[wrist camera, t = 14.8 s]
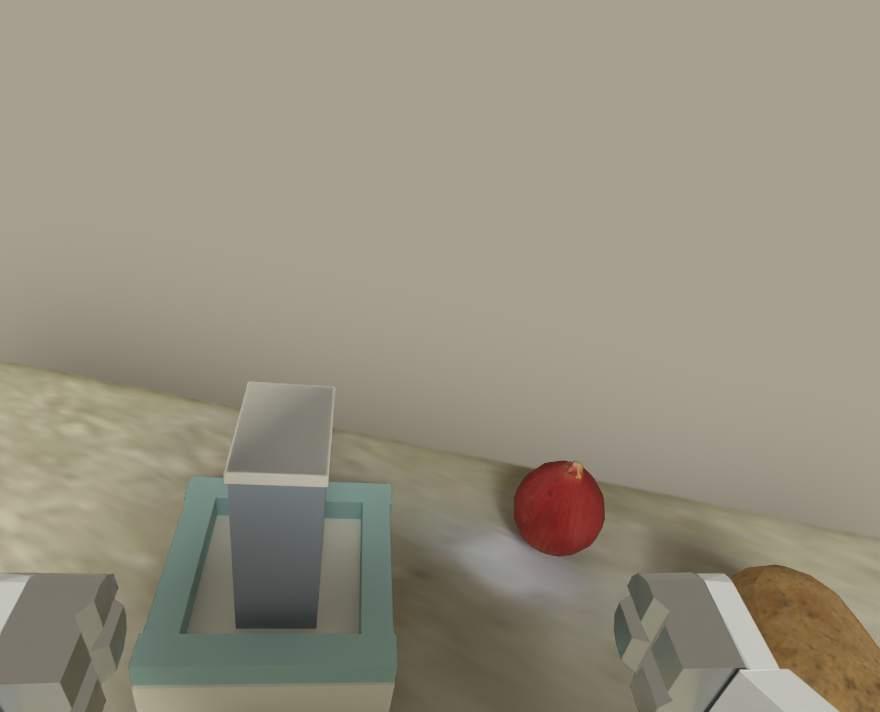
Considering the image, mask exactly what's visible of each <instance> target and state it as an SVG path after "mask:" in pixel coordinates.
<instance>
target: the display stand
mask: <svg viewBox="0 0 880 712" xmlns="http://www.w3.org/2000/svg"><path fill="white" fill-rule="evenodd" d="M184 500H185V504H184V507H183V510H182V513H181V517H180V520H179V523H178V526H177V529H176V532H175V535H174V538H173V541H172V545H171V548H170V551H169V554H168V557H167V560H166V563H165V566H164V569H163V573H162V576H161V579H160V582H159V585H158V588H157V591H156V594H155V597H154V601H153V604H152V607H151V610H150V613H149V616H148V619H147V622H146V625H145V629H144V632H143V634H139V637H138V640H137V643H136V646H135V649H134V652H133V655H132V658H131V661H130V664H129V667H128V668H129V672H130V676H131V681H132V685H133V686H132V693H133V697H134V701H135V705H136V709H137V712H389V710H390V705H391V700H392V695H393V690H394V682H395V677H396V672H397V667H398V657H397V634H394V631H393V601H392V570H391V540H390V512H391V505H392V497H391V484H377V483H350V482H328V487H327V490H326V505H325V520H324V535H323V548H322V561H321V574H320V588H319V601H318V614H317V627H316V629H236V624H235V607H234V590H233V572H232V555H231V537H230V520H229V502H228V485H227V484H224V478H217V477H190V480H189V483H188V486H187V489H186V492H185V496H184Z"/></svg>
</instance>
